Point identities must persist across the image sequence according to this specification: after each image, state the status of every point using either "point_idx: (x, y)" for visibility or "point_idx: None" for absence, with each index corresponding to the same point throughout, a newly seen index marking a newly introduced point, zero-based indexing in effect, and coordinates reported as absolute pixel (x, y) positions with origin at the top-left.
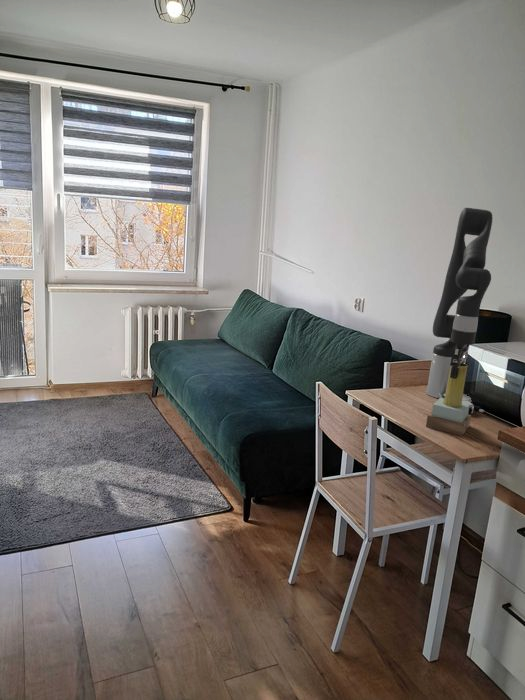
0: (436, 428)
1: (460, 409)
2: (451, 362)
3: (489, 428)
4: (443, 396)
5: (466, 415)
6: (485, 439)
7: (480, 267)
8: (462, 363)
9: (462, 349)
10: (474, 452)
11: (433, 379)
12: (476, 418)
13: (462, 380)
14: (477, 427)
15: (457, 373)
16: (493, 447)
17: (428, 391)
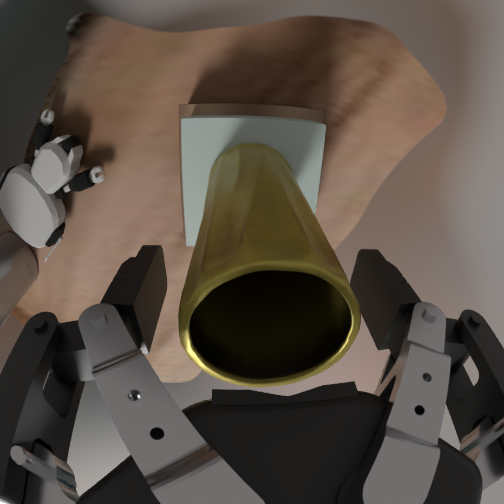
0: None
1: (304, 140)
2: (462, 374)
3: (160, 48)
4: (50, 243)
5: (222, 115)
6: (290, 41)
7: None
8: (187, 323)
9: (476, 490)
10: (416, 78)
11: (14, 299)
12: (91, 111)
13: (298, 202)
14: (180, 79)
15: (395, 273)
16: (346, 22)
17: (32, 283)
